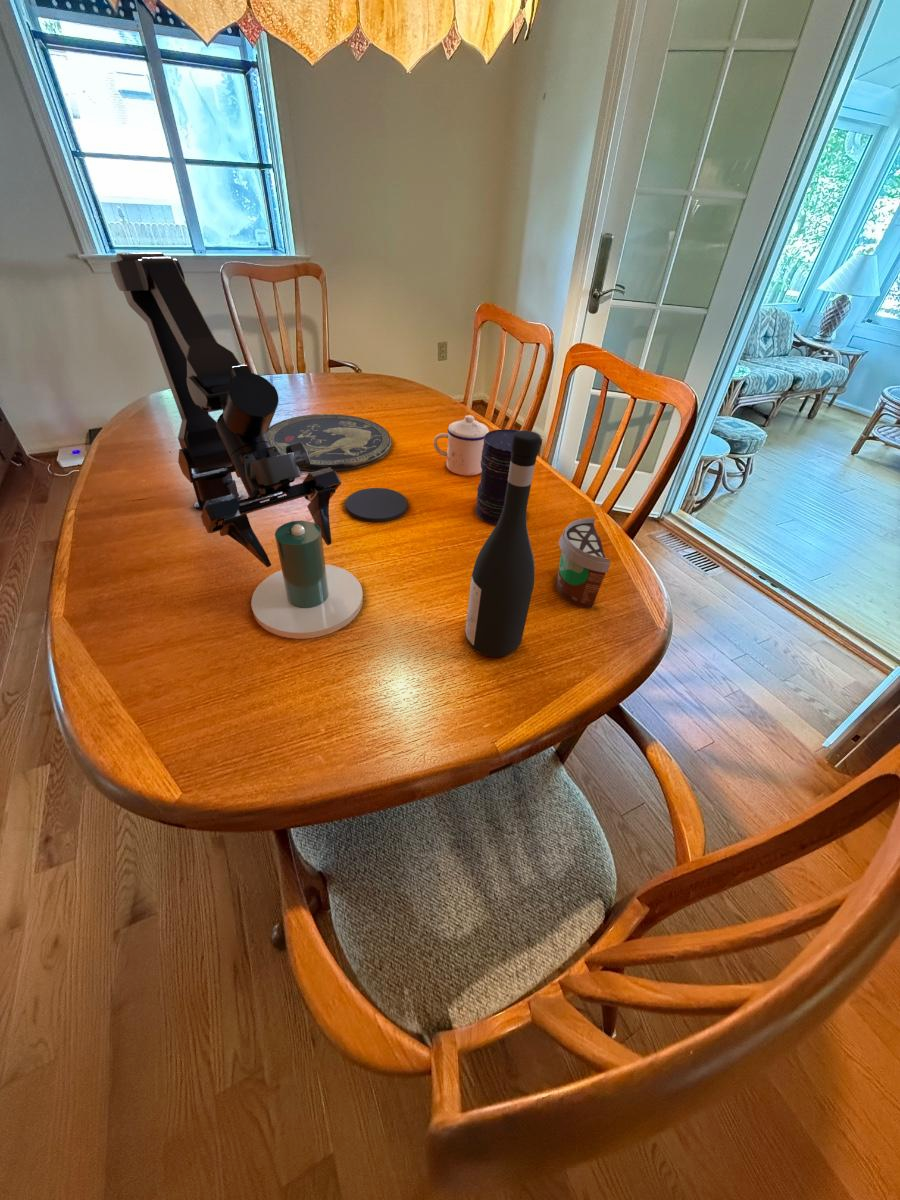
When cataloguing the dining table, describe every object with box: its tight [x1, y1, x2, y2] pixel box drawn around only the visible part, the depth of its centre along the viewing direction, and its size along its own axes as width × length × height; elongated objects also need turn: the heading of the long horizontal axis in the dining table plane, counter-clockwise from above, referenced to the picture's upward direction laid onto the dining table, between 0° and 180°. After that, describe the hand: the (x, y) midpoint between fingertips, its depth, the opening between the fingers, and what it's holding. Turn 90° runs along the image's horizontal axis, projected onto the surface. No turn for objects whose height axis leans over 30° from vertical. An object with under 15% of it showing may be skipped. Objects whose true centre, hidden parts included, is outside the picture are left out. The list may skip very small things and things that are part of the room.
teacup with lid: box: [433, 414, 490, 477], centre depth 109 cm, size 12×9×12 cm
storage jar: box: [475, 428, 518, 526], centre depth 93 cm, size 10×10×15 cm
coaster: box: [344, 487, 409, 523], centre depth 97 cm, size 12×12×1 cm
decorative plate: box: [265, 413, 392, 472], centre depth 117 cm, size 30×2×30 cm
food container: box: [555, 517, 612, 609], centre depth 78 cm, size 12×6×10 cm, turn 178°
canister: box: [274, 520, 329, 608], centre depth 70 cm, size 6×6×12 cm
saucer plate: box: [250, 563, 364, 640], centre depth 74 cm, size 16×16×1 cm
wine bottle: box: [464, 429, 542, 658], centre depth 61 cm, size 8×8×30 cm
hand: (300, 555), depth 69 cm, fingers open, 9 cm apart
